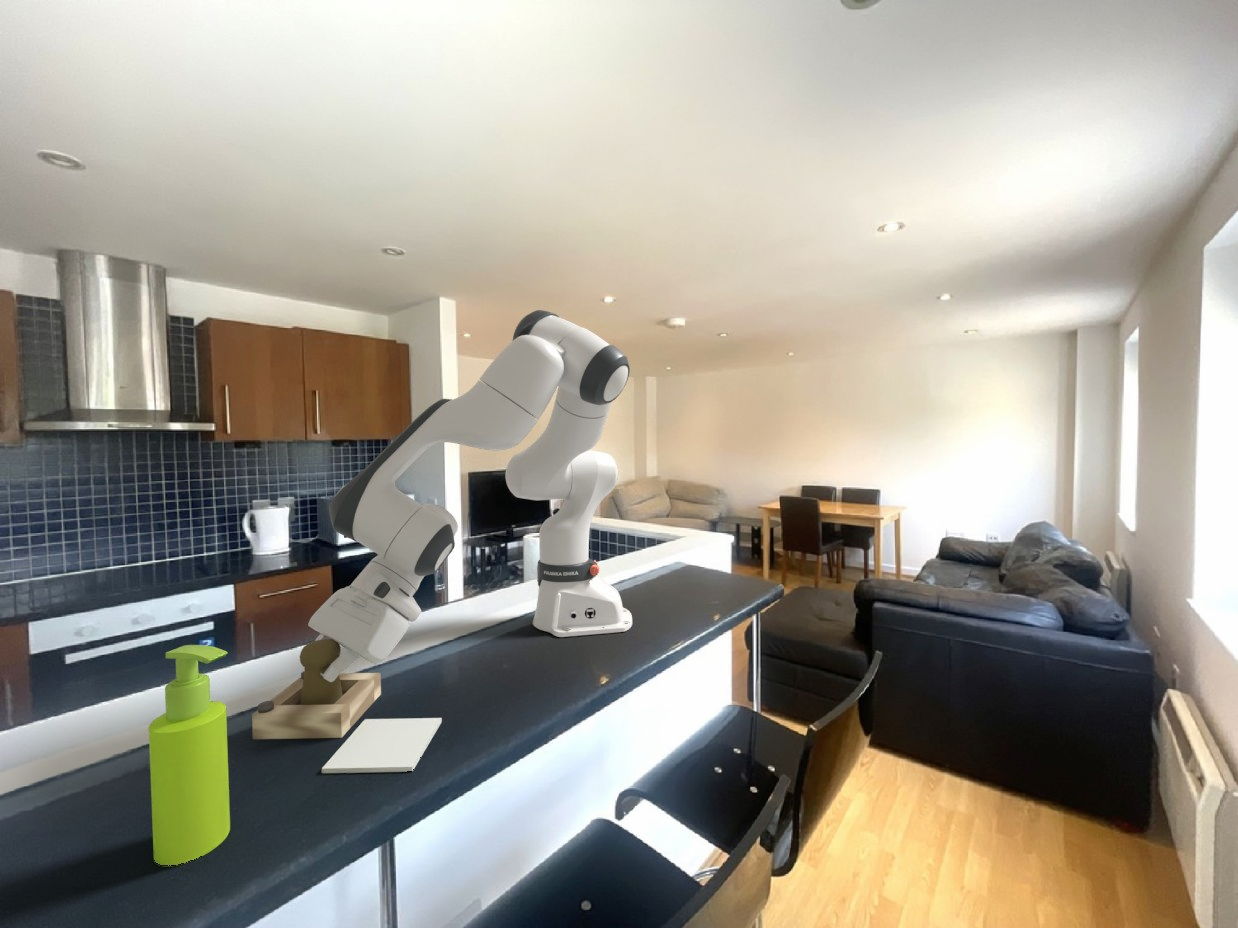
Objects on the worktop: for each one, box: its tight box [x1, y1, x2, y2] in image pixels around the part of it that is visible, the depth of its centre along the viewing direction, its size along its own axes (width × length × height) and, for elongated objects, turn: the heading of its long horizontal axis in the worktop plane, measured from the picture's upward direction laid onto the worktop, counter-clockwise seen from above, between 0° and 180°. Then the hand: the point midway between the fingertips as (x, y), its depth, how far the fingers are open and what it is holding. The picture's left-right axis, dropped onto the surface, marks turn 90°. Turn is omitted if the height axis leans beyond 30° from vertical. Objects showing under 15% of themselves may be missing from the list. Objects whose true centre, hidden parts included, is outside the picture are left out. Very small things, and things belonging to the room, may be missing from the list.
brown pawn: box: [299, 639, 343, 705], centre depth 74 cm, size 6×6×11 cm
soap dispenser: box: [148, 644, 231, 867], centre depth 50 cm, size 6×7×20 cm
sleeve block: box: [251, 670, 382, 740], centre depth 74 cm, size 12×12×4 cm
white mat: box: [321, 717, 443, 774], centre depth 67 cm, size 11×11×1 cm
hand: (316, 672), depth 74 cm, fingers closed on brown pawn, 5 cm apart
